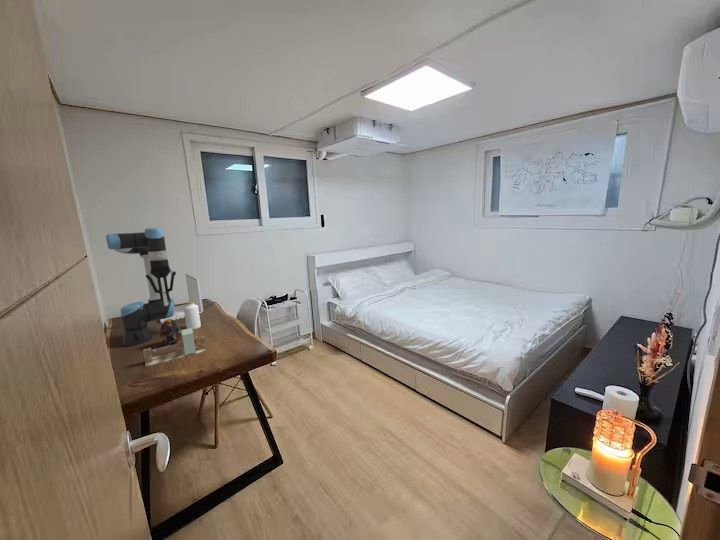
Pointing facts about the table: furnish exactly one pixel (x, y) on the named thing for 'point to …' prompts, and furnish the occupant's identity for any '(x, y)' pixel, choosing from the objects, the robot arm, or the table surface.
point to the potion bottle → (192, 315)
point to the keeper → (188, 341)
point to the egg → (170, 332)
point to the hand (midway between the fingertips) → (166, 304)
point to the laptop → (193, 296)
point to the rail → (171, 356)
